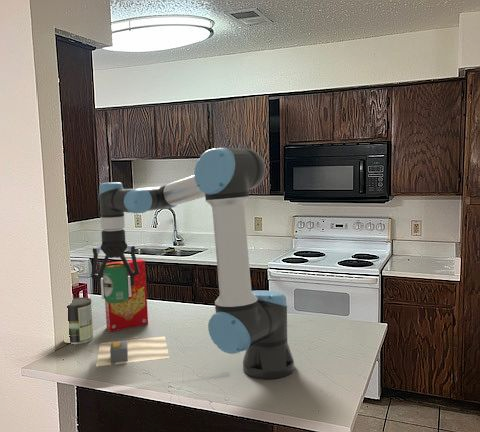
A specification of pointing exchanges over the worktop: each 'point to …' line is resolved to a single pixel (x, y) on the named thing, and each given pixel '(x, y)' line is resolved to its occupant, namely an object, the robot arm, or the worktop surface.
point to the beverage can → (115, 283)
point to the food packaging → (130, 303)
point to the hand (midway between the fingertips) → (116, 296)
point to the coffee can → (80, 320)
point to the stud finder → (119, 351)
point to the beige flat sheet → (136, 351)
